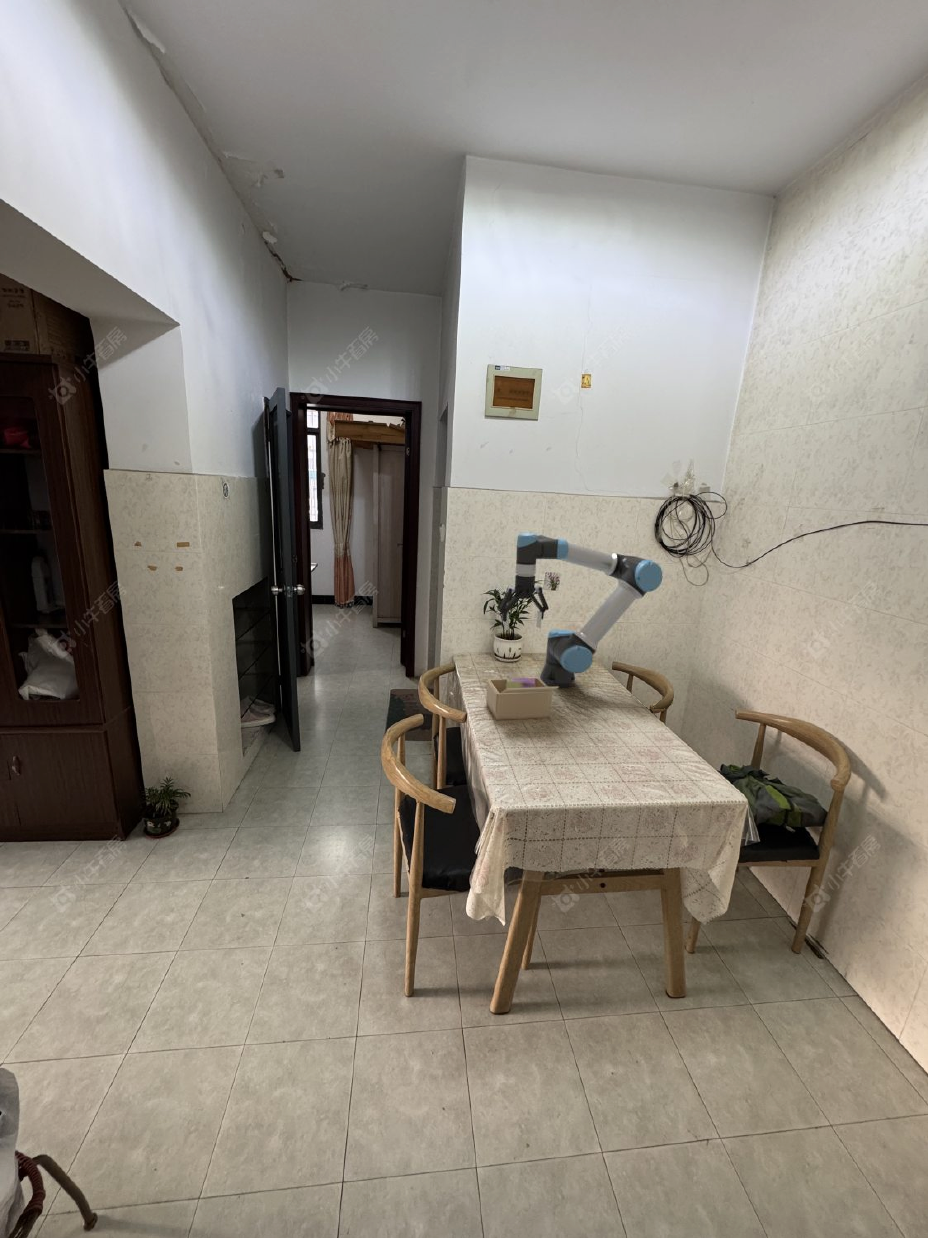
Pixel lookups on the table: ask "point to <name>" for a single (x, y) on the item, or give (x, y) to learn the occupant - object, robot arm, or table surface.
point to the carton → (517, 701)
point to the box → (519, 682)
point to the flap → (529, 689)
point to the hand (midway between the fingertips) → (522, 628)
